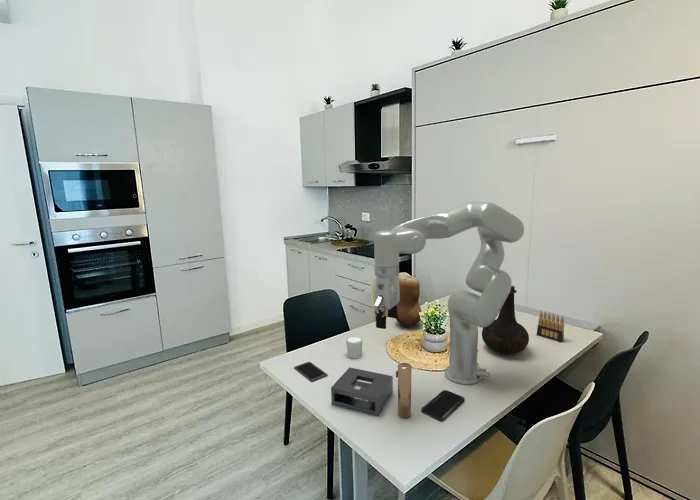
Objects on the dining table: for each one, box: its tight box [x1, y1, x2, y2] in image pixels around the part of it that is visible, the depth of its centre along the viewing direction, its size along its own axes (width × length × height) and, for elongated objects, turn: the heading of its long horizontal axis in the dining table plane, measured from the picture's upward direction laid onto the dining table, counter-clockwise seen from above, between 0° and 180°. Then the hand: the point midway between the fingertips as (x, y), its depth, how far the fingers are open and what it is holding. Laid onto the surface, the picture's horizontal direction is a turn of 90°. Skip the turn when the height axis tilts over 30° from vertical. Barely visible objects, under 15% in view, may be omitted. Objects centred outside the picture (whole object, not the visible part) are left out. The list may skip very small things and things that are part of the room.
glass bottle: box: [481, 285, 530, 356], centre depth 148 cm, size 18×18×28 cm
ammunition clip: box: [536, 309, 565, 344], centre depth 160 cm, size 11×2×12 cm, turn 38°
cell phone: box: [293, 361, 329, 383], centre depth 138 cm, size 7×14×1 cm, turn 37°
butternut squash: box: [395, 275, 422, 329], centre depth 178 cm, size 14×13×25 cm
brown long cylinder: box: [395, 362, 412, 420], centre depth 110 cm, size 4×4×16 cm
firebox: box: [330, 366, 394, 417], centre depth 119 cm, size 16×14×6 cm
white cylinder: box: [345, 335, 363, 359], centre depth 149 cm, size 7×7×7 cm
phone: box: [420, 389, 466, 423], centre depth 115 cm, size 8×1×15 cm
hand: (387, 322), depth 116 cm, fingers open, 9 cm apart
